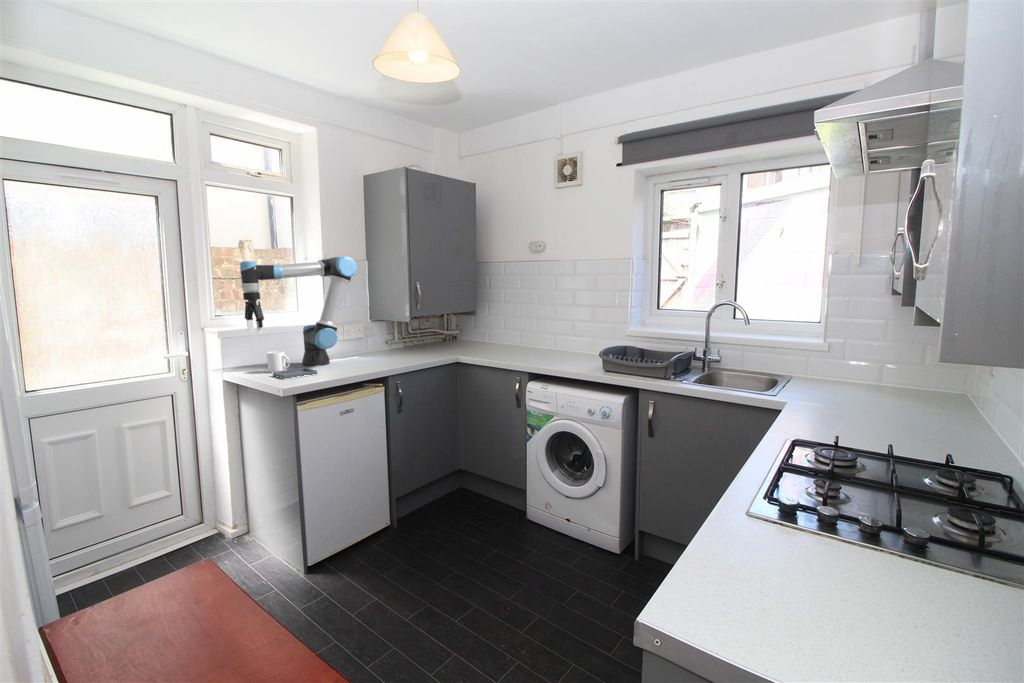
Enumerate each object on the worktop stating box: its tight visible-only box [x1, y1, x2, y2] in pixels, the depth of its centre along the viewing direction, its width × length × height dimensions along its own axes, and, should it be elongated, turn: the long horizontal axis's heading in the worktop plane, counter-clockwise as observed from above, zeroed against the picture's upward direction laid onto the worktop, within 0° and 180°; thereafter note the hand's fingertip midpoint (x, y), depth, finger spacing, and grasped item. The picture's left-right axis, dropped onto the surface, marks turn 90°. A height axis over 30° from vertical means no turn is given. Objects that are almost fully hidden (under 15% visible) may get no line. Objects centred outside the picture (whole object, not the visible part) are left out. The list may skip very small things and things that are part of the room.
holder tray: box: [272, 367, 318, 380], centre depth 247 cm, size 17×15×2 cm
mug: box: [266, 350, 290, 373], centre depth 258 cm, size 9×12×11 cm
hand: (255, 333), depth 247 cm, fingers open, 13 cm apart
